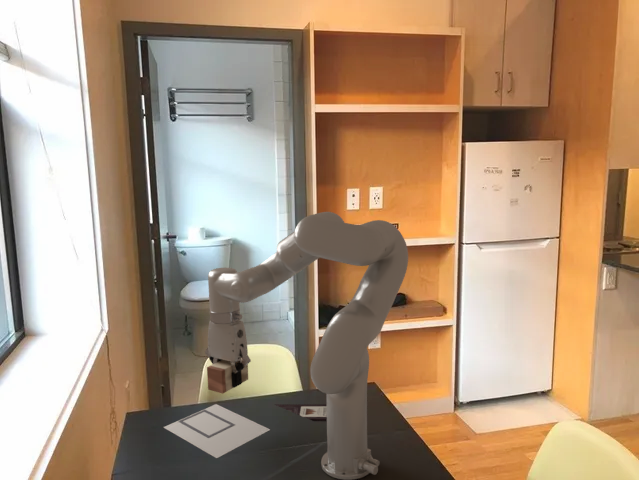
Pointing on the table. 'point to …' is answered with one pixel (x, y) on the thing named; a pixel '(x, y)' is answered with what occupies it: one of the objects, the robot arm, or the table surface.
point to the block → (223, 376)
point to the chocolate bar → (307, 410)
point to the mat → (216, 430)
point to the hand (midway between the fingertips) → (228, 382)
